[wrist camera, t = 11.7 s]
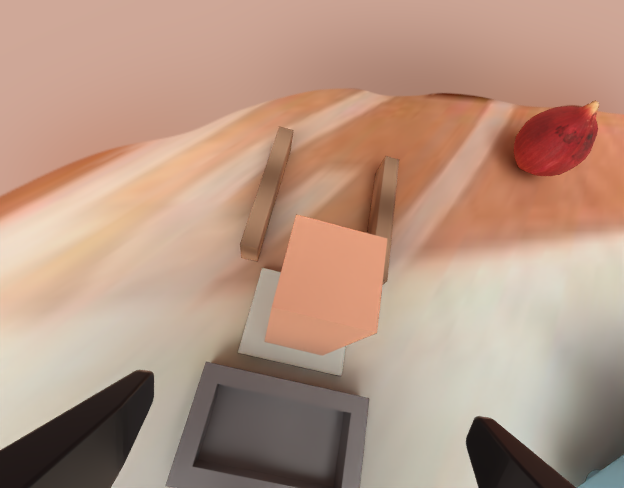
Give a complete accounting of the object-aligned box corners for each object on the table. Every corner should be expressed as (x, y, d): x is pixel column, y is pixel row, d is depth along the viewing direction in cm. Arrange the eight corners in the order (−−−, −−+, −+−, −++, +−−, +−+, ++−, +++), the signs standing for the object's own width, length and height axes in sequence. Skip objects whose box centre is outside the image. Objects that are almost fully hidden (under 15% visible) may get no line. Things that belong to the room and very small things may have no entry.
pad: (340, 376, 21) (341, 376, 21) (238, 352, 21) (237, 352, 20) (352, 291, 24) (354, 290, 23) (262, 269, 23) (262, 267, 23)
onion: (556, 191, 32) (645, 134, 24) (507, 192, 30) (585, 133, 23) (533, 145, 34) (609, 81, 27) (487, 144, 33) (552, 77, 25)
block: (322, 355, 21) (376, 332, 12) (264, 341, 21) (271, 307, 11) (332, 298, 23) (387, 238, 13) (279, 285, 23) (296, 214, 13)
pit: (345, 509, 18) (355, 523, 16) (174, 475, 18) (165, 486, 16) (359, 396, 21) (369, 398, 19) (210, 363, 20) (206, 361, 18)
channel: (374, 290, 24) (387, 281, 22) (241, 257, 23) (240, 244, 21) (387, 177, 29) (399, 159, 26) (277, 147, 28) (279, 126, 26)
